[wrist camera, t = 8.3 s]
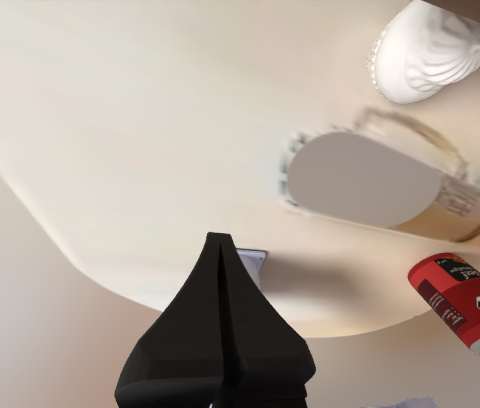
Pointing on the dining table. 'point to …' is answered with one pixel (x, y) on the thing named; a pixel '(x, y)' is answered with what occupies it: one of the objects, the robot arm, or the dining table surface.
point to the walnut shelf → (460, 7)
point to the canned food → (451, 294)
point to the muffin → (423, 52)
